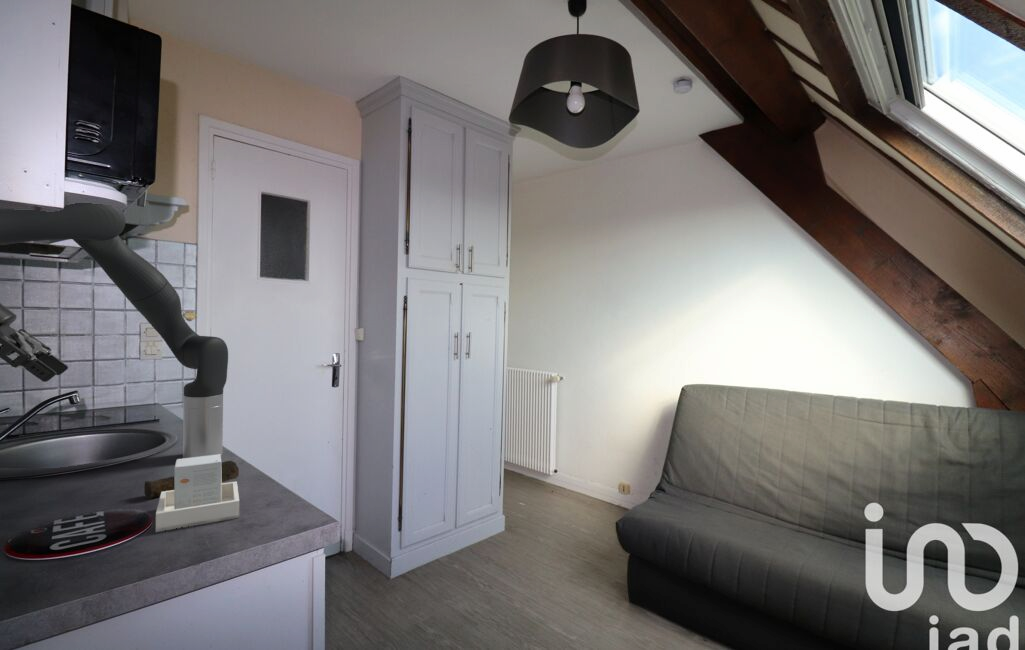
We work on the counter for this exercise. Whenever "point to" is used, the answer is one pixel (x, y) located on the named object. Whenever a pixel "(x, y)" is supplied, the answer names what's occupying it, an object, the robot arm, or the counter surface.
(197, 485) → the small box
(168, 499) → the tray
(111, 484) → the counter surface
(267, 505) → the counter surface
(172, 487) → the hand tool
